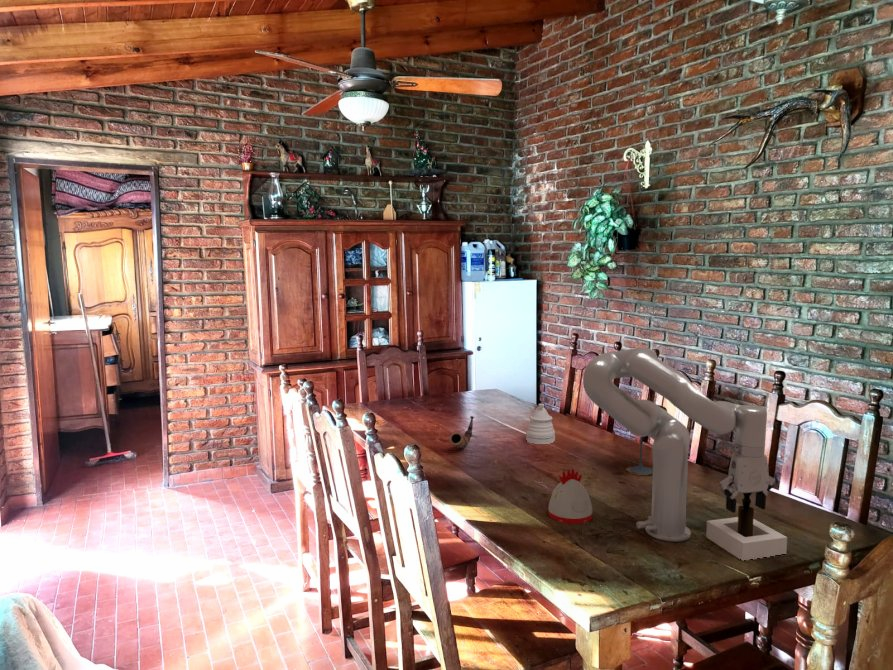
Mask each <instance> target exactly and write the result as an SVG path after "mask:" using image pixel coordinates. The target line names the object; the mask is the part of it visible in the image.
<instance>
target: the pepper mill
mask: <svg viewBox="0 0 893 670" xmlns="http://www.w3.org/2000/svg"><path fill="white" fill-rule="evenodd" d="M742 494H743V498H742V499H741V502H742V505H738V509H737V511H738V512H737V517H738V532H737V533H739V534H741V535H742V536H744V537H750V536H753V519H754V514H755V513H754V511H755V509H754V508H753V507H752V506H751V503H752V500H751V498H750V497H751V495H752V494H753V492H750V493H742Z"/></svg>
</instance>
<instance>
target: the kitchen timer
mask: <svg viewBox="0 0 893 670" xmlns="http://www.w3.org/2000/svg"><path fill="white" fill-rule="evenodd" d="M561 475H562V476H561ZM561 475H559V474H558V478H559V480H560V482H559V483H558V484H557V485H556V487H555V488H554V489H553V490H552V492H551V495H550V499H549V501H548V510H547V514H548V516H549V518H550V519H552V520H554V521H556V522H560V523H563V524H573V525H574V524H575V525H577V524H585V523H588V522H589V521H591V520H592V518H593V505H592V501H591V498H590V495H589V493H588V491H587V489H586V487H584V485H583V484H582V483H581V480H582V477H583V474H579V471H577V470H576V471H575V469H574V468H571V470H570V469H567V472H565V471H564V470H562V473H561Z"/></svg>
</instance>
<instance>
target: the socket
mask: <svg viewBox="0 0 893 670" xmlns="http://www.w3.org/2000/svg"><path fill="white" fill-rule="evenodd" d="M737 532H738V516H735V517H726V518H720V519H719V518H718V519H712V520H711V519H710V520H706V532H705V533H706V534H705V535H706V536H705V537H706V538H707V539H708V540H710V541H711V542H713V543H714V544H716V545H717V546H719V547H720V548H722V549H723V550H725V551H726V552H728V553H729V554H731V555H733V556H734V557H736V558H738V559H739V560H740V559H741V561H742V562H745V561H744V560H746V561H751V560H750V559H753V560H758V559H757V558H760V559H764V558H763V557H767V558H771V557H770V556H774V557H776V556H775V555H781V554H786V555H787V545H788V536H785V535H784V534H782V533H780V532H778V531H776V529H773V528H771V527H769V526H767V525H766V524H764V523H762V522H760V521H758V520H757V519H755V518H753V536H750V537H744V536H742V535H741V534H739V533H737ZM781 556H782V555H781Z"/></svg>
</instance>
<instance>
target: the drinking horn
mask: <svg viewBox="0 0 893 670" xmlns="http://www.w3.org/2000/svg"><path fill="white" fill-rule="evenodd" d="M469 418H470V422H469V425H468V427H467V430H466V431H465V433H464V435H462V434H461V433H460V432H453V433H452V434H451V435H450V436H449V442H450V443H451V444H452V445H453V446H454V447H455V448H457V449H459V450H460V448H461V449H464V448H466V446H467V445H468V444H469V443H470V440H471V438H472V437H473V436H472V435H473V424H474V423H473V421H474V419H475V417H474V416H473V415H472V416H469Z"/></svg>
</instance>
